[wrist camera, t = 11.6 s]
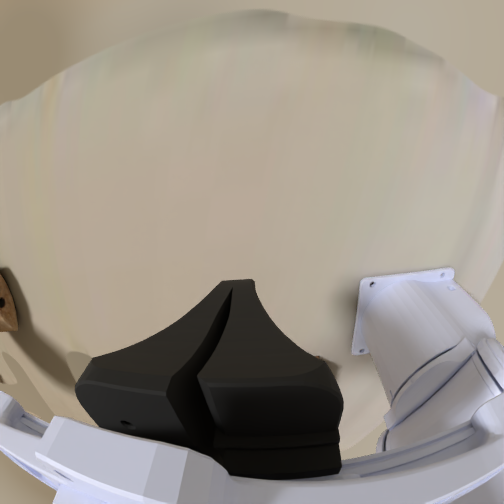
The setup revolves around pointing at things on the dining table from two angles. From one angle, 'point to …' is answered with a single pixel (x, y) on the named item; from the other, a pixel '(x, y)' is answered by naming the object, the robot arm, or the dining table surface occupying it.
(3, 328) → the stone cup
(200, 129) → the dining table surface
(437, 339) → the robot arm
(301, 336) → the dining table surface
